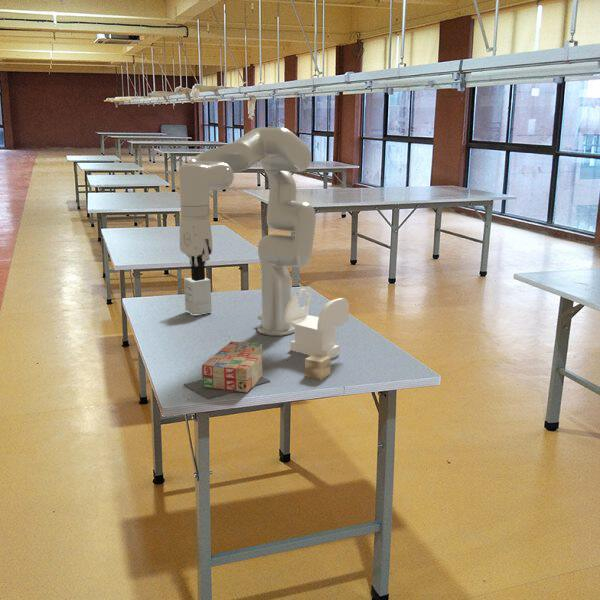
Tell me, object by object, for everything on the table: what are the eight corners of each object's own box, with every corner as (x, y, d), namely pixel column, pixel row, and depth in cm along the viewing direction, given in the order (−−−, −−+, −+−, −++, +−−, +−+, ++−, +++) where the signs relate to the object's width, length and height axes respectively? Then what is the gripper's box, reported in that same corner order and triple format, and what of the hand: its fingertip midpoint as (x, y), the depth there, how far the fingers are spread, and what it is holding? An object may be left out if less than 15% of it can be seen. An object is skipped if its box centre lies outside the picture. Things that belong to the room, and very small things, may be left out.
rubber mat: (183, 385, 178) (183, 384, 178) (244, 369, 189) (244, 368, 189) (207, 399, 169) (207, 398, 169) (270, 381, 180) (270, 380, 180)
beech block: (305, 376, 184) (305, 358, 183) (314, 370, 188) (314, 353, 187) (321, 379, 182) (321, 362, 180) (330, 374, 186) (330, 356, 185)
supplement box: (203, 309, 251) (202, 275, 248) (212, 313, 245) (211, 279, 242) (184, 312, 247) (183, 277, 244) (193, 316, 241) (191, 281, 238)
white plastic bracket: (284, 352, 203) (283, 293, 199) (311, 342, 213) (312, 286, 208) (320, 362, 194) (321, 301, 190) (348, 351, 204) (349, 293, 199)
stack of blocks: (230, 340, 193) (272, 343, 190) (230, 361, 195) (272, 365, 192) (201, 365, 173) (247, 369, 170) (202, 388, 175) (248, 392, 172)
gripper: (169, 210, 183) (172, 277, 188) (197, 216, 172) (200, 287, 177) (193, 207, 188) (196, 273, 193) (222, 213, 176) (225, 282, 181)
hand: (198, 279), depth 185 cm, fingers closed
